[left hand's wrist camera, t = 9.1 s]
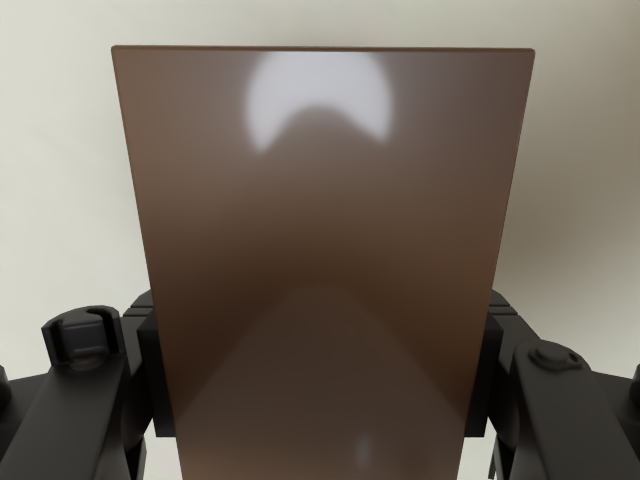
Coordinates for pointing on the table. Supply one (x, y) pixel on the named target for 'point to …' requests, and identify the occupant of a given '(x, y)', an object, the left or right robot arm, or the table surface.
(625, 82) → the table surface
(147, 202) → the post
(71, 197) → the table surface
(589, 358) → the table surface
